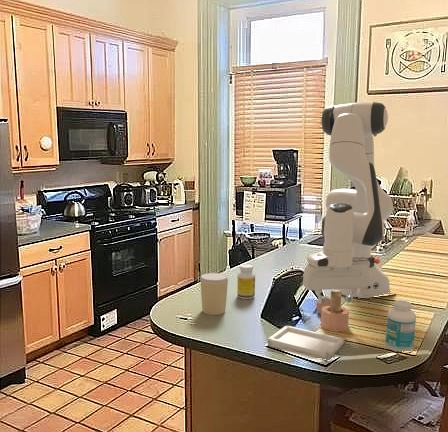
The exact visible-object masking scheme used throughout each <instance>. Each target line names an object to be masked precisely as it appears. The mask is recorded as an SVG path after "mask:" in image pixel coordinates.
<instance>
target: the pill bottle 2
mask: <svg viewBox="0 0 448 432" xmlns="http://www.w3.org/2000/svg"><path fill="white" fill-rule="evenodd" d="M392 306H393V308H390V309H389V310H388V311H387V317H386V329H385V331H386V333H385V334H386V335H385V347H386V348H388V349H389V350H391V351H393V352H397V351H399V352H402V351H403V352H404V351H411V350H413V351H414V349H413V348H414V346H415V336H416V335H415V334H416V323H417V322H416V321H417V315H416V313H415V312H414V311H413V310H412V309H413V308H412V303H411V302H410V301H408V300H401V299H400V300H398V299H397V300H394V301H393V305H392Z"/></svg>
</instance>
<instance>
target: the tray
mask: <svg viewBox="0 0 448 432" xmlns="http://www.w3.org/2000/svg"><path fill="white" fill-rule="evenodd" d="M345 343H346V339H345V338H342V337H339V336H335V335H330V334H325V333H322V332H316V331H312V330H308V329H306V328H305V329H304V328H300V327H296V326H295V327H294V326H292V325H287V324H286V325H284V326H283V327H282V328H280V329H279V330H278V331H277V332H275V333H274V334H273V335H271V336H270V337H268V338H267V346H268V347H270V348H273V347H276V348H275V349H277V348H280V349H279V350H281V349H284V350H283V351H285V350H286V349H288V350H292V351H294V352H298V353H299V352H300V353H302V354H307V355H310V356H314V357H317V358H322V359H326V360H330V359H331V358H332V357H333V356H335V354H336V353H337V352H338V351H339V350H340V349H341V348H342V347H343V346H344V345H345ZM333 358H334V357H333Z"/></svg>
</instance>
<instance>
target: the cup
mask: <svg viewBox="0 0 448 432" xmlns="http://www.w3.org/2000/svg"><path fill="white" fill-rule="evenodd" d="M349 316H350V310H349V309H348V308H346V307H345V306H341V313H333V312H330V306H325V307H322V309H321V315H320V326H321V328H322V329H323V330H326V331H329V332H344V331H347V330H348V329H349V318H350V317H349Z"/></svg>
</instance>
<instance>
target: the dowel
mask: <svg viewBox="0 0 448 432" xmlns="http://www.w3.org/2000/svg"><path fill="white" fill-rule="evenodd" d="M341 293H342V292H341V291H339V290H334V289H331V290H330V298H329V299H330V312H333V313H341V307H342V294H341Z"/></svg>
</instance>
